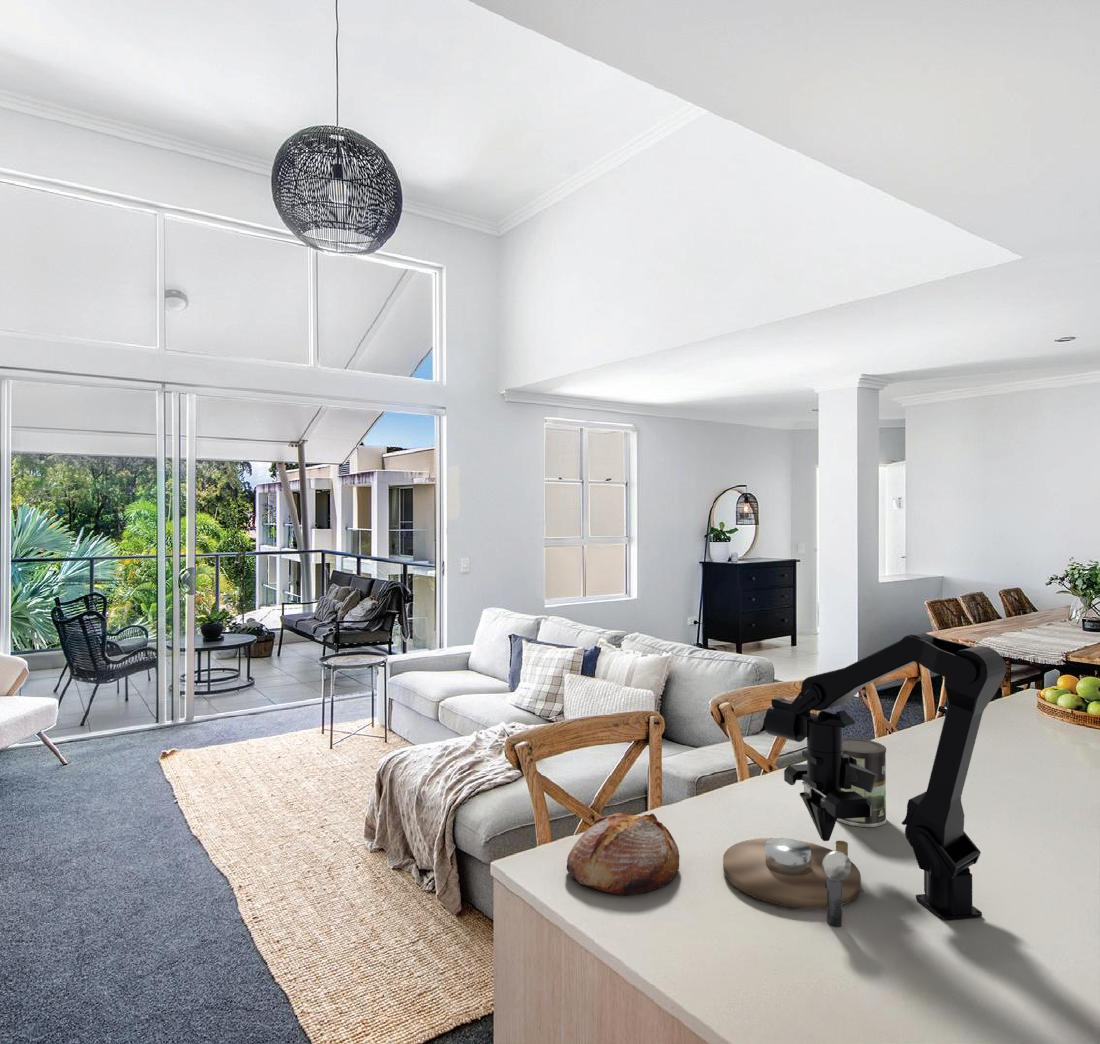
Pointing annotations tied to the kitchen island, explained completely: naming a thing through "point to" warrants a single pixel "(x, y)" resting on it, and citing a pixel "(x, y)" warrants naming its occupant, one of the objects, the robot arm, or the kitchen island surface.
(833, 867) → the ice cream scoop
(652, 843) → the bread
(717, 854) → the kitchen island surface
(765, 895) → the disc
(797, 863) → the cover
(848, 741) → the coffee can
